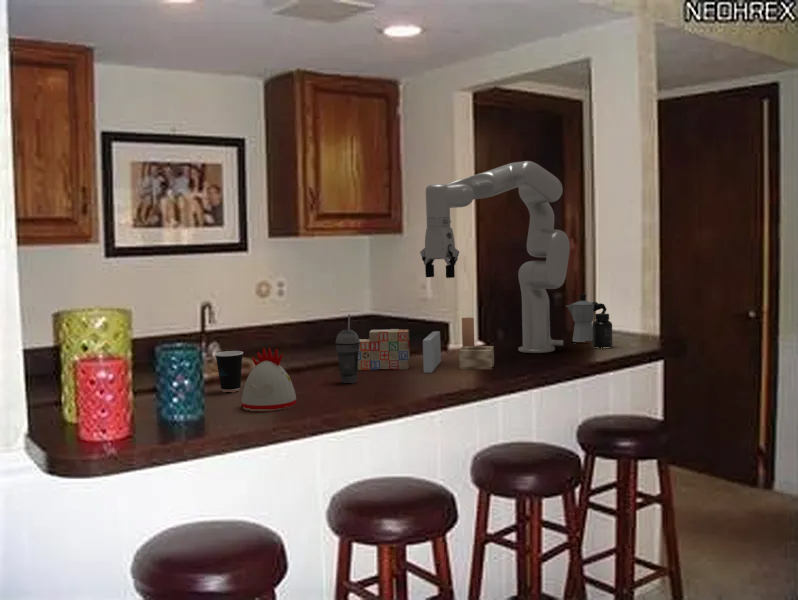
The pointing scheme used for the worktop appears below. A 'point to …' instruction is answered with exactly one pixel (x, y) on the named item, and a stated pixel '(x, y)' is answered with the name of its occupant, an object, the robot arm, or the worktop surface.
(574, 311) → the coffee maker
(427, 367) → the backstop wall
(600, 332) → the supplement bottle
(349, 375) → the beverage cup
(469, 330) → the dowel
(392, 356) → the stack of blocks
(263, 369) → the kitchen timer
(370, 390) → the worktop surface
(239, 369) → the dixie cup
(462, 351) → the socket block
